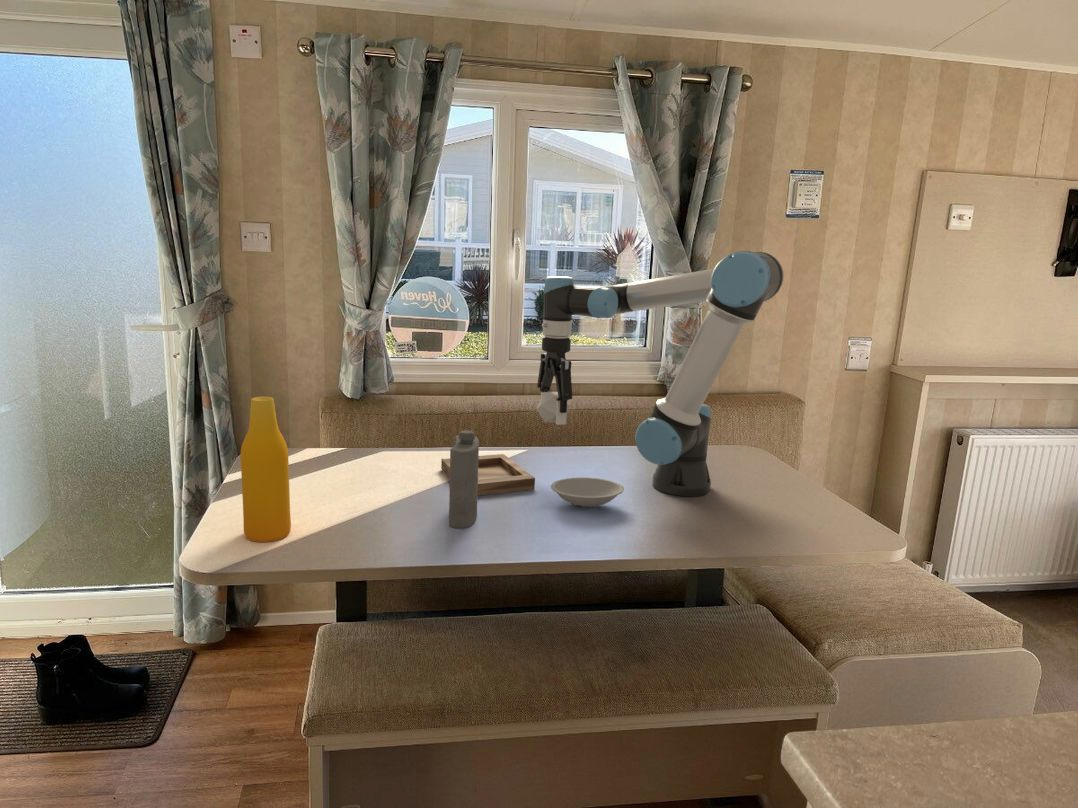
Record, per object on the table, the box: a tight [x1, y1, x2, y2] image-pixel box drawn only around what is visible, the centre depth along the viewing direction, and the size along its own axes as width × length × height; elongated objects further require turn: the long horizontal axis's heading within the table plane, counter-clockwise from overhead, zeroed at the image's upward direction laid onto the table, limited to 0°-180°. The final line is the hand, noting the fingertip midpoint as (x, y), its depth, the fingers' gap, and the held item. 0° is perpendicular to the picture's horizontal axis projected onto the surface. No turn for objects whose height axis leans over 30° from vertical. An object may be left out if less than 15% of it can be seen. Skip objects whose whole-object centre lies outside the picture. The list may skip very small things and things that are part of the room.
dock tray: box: [440, 453, 536, 496], centre depth 195 cm, size 22×18×3 cm
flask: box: [448, 429, 480, 529], centre depth 167 cm, size 15×6×20 cm, turn 1°
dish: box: [550, 476, 625, 509], centre depth 178 cm, size 18×14×5 cm
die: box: [536, 391, 571, 423], centre depth 197 cm, size 8×9×10 cm
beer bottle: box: [239, 396, 292, 543], centre depth 151 cm, size 9×9×29 cm
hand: (552, 419), depth 198 cm, fingers closed on die, 9 cm apart
